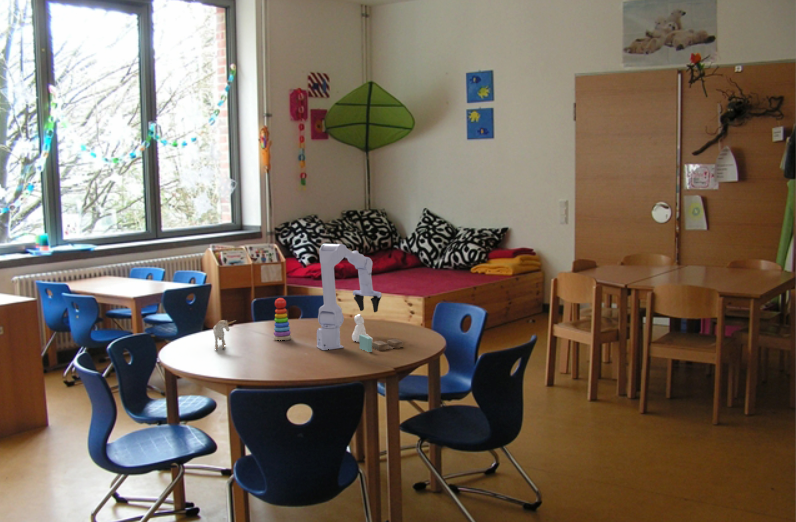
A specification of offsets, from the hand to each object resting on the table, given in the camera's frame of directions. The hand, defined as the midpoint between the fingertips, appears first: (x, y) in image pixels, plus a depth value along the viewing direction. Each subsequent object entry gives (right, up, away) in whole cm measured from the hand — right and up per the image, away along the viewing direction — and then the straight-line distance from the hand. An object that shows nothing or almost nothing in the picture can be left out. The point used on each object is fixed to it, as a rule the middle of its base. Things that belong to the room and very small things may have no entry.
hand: (368, 311), depth 346 cm
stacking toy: (-38, -12, -7) cm, 41 cm away
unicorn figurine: (-60, -15, -22) cm, 66 cm away
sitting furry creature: (-3, -12, -14) cm, 19 cm away
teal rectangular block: (0, -14, -32) cm, 35 cm away
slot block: (+9, -14, -28) cm, 32 cm away
